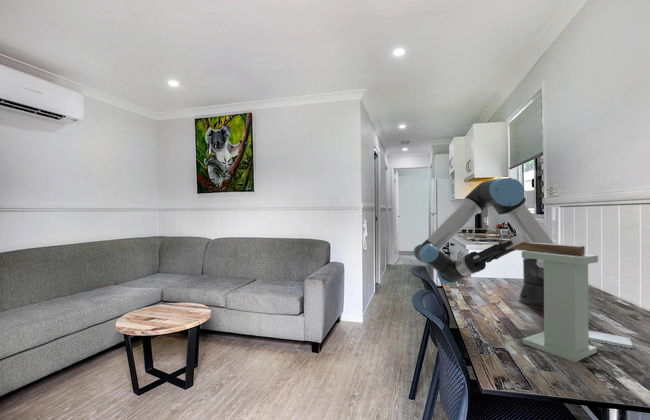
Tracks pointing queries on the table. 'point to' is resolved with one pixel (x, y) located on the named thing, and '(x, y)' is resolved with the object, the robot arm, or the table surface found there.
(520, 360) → the table surface
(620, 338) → the hard drive
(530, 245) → the walnut bar
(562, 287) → the sage stand
